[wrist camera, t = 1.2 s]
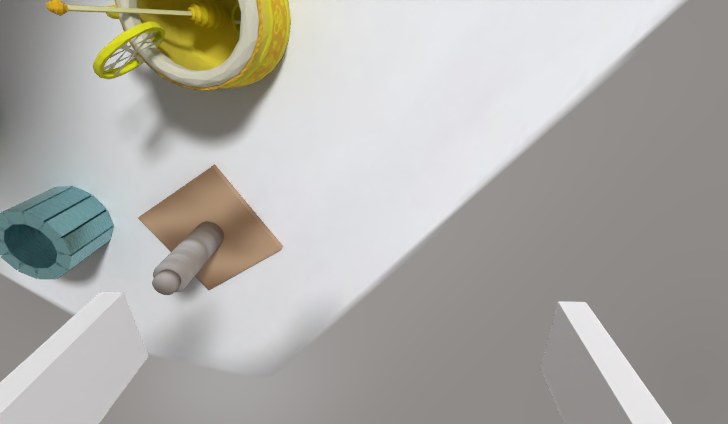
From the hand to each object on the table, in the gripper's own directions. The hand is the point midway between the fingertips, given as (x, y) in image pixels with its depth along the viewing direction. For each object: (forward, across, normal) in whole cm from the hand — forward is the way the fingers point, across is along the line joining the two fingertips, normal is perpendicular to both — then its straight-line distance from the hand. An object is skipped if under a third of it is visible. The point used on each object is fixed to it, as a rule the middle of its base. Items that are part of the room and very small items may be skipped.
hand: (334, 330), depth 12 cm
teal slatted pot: (+25, -32, -9) cm, 42 cm away
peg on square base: (+25, -18, -11) cm, 33 cm away
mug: (+26, -13, +10) cm, 30 cm away
